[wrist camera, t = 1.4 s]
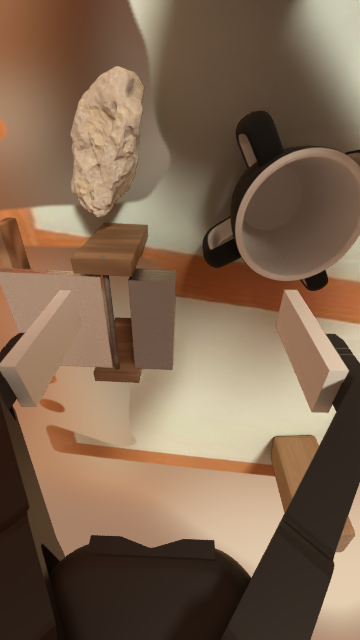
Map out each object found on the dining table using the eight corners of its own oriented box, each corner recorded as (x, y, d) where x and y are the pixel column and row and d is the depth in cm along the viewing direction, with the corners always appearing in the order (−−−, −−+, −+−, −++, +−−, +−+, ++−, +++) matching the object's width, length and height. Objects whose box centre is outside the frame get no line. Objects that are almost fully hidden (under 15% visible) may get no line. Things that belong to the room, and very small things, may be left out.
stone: (81, 155, 36) (50, 205, 31) (87, 36, 25) (41, 85, 21) (135, 181, 38) (113, 232, 33) (163, 81, 27) (136, 135, 22)
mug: (364, 156, 32) (441, 167, 22) (288, 272, 41) (319, 316, 31) (242, 95, 29) (269, 76, 19) (188, 233, 38) (188, 268, 28)
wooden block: (308, 455, 70) (345, 553, 54) (269, 456, 71) (293, 553, 55) (315, 433, 64) (358, 535, 48) (272, 434, 65) (301, 536, 49)
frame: (6, 217, 37) (-67, 251, 27) (147, 225, 37) (130, 261, 27) (39, 321, 47) (-4, 375, 37) (150, 326, 47) (138, 382, 37)
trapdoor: (11, 260, 31) (-5, 271, 28) (176, 269, 31) (175, 280, 28) (40, 349, 38) (30, 363, 36) (173, 355, 38) (172, 370, 36)
